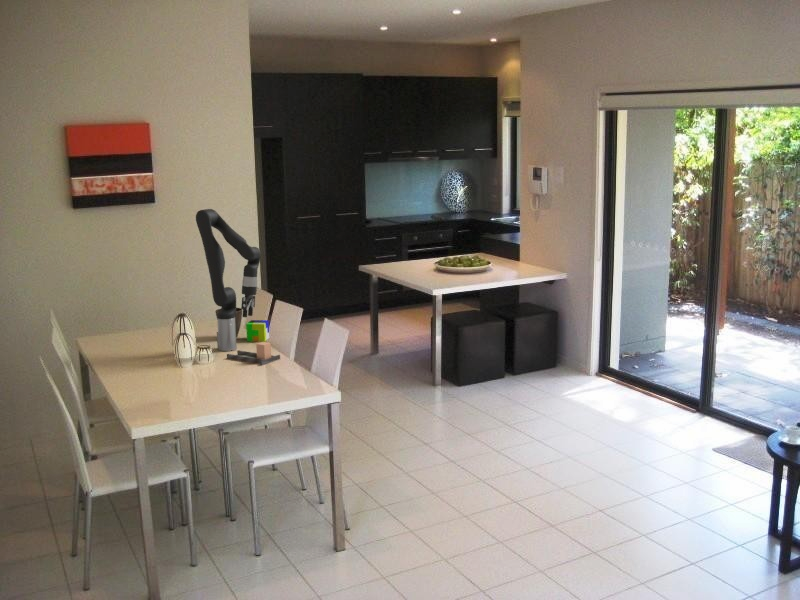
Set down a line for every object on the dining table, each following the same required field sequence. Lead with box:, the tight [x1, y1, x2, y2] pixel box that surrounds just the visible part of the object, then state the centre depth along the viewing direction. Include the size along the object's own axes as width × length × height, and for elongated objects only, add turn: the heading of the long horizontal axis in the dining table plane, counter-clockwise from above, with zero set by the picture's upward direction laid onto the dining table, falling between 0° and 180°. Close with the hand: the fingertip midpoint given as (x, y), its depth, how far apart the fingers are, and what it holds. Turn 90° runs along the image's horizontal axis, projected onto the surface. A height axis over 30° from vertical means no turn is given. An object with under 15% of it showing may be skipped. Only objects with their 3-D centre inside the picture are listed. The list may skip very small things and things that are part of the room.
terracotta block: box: [256, 341, 272, 360], centre depth 416 cm, size 5×5×9 cm
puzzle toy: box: [245, 319, 270, 343], centre depth 468 cm, size 10×10×10 cm
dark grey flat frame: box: [224, 350, 281, 366], centre depth 421 cm, size 25×14×4 cm, turn 60°
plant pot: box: [214, 307, 243, 338], centre depth 472 cm, size 15×15×16 cm
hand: (247, 316), depth 434 cm, fingers open, 8 cm apart
